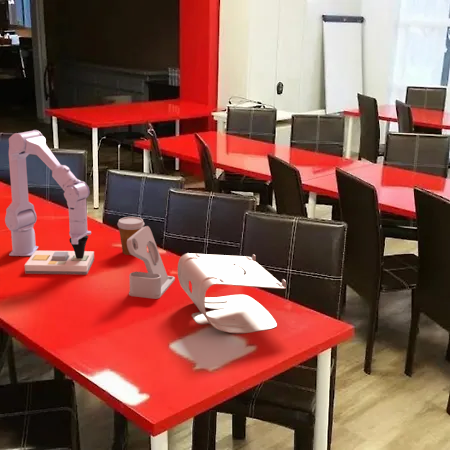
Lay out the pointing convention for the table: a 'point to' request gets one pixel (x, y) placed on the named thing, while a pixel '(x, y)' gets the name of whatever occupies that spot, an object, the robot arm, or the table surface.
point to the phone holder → (147, 266)
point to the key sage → (80, 258)
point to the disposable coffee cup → (128, 230)
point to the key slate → (60, 256)
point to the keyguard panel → (59, 264)
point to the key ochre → (41, 257)
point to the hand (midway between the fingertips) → (79, 257)
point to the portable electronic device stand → (234, 304)
